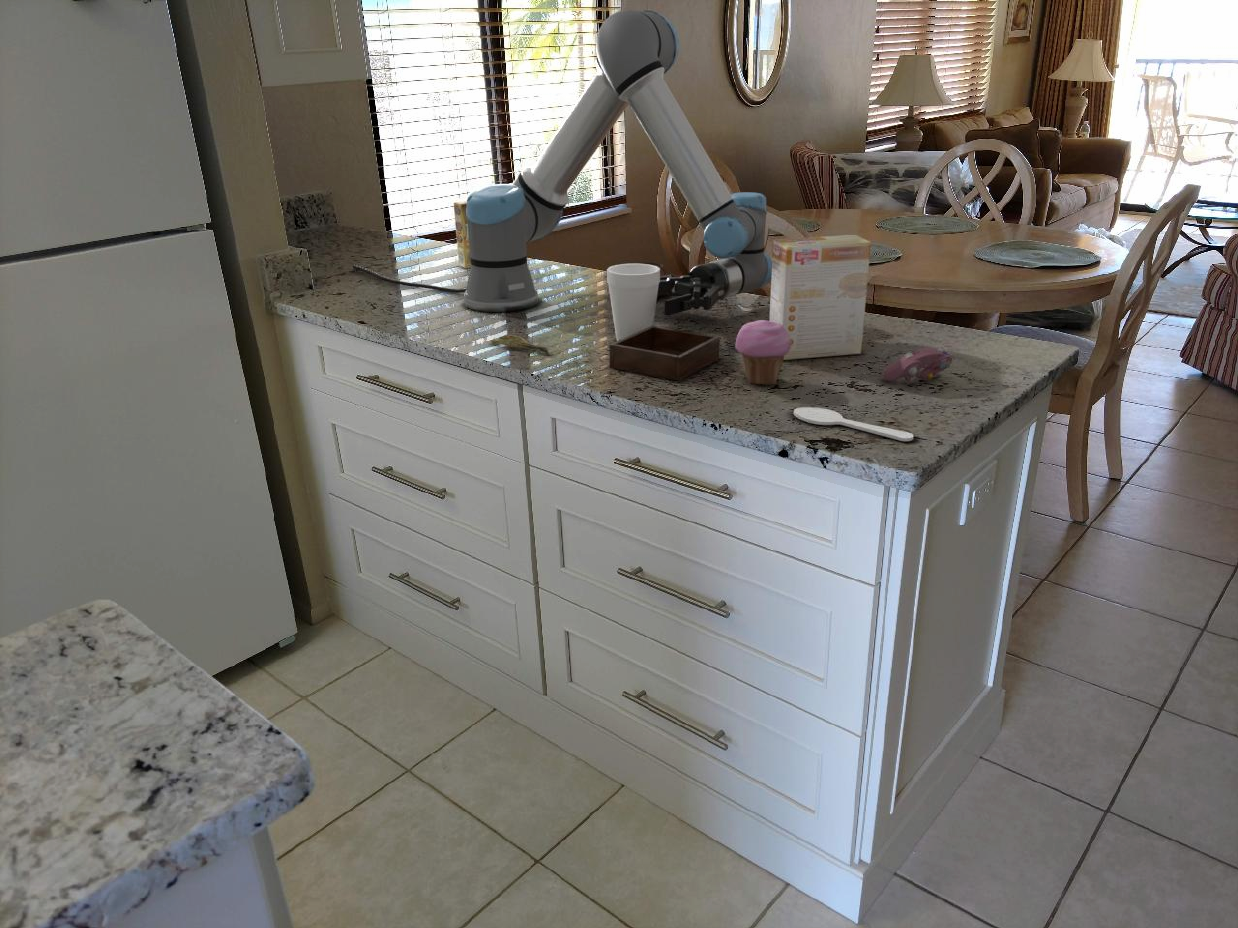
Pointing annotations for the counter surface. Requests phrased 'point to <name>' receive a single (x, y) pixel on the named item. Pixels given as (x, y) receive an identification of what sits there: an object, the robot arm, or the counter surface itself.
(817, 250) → the coffeecake box
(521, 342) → the olive green tapered piece
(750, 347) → the cupcake
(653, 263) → the cup and saucer
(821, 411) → the spoon
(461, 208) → the candy box
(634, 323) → the foam cup
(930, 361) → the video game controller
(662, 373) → the wooden tray
